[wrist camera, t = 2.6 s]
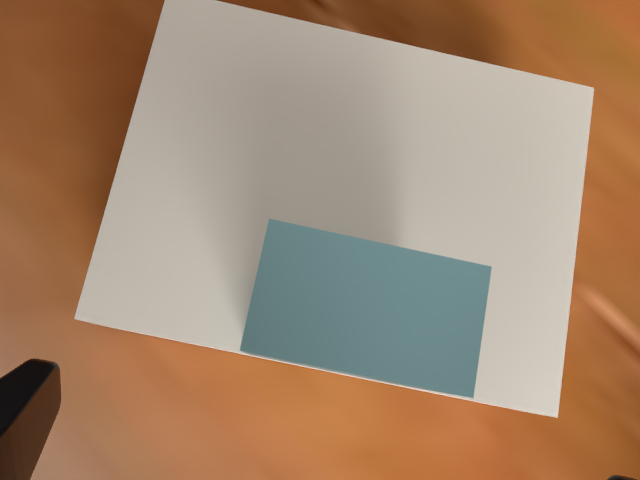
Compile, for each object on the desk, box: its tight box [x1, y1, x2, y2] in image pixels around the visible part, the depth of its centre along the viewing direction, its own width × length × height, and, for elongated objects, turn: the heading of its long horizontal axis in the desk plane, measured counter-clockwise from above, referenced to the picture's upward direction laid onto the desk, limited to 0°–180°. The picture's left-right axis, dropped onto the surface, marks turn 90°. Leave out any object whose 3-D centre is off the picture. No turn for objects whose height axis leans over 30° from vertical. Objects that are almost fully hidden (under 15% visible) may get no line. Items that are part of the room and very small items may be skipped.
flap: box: [74, 0, 594, 418], centre depth 13 cm, size 9×12×7 cm
